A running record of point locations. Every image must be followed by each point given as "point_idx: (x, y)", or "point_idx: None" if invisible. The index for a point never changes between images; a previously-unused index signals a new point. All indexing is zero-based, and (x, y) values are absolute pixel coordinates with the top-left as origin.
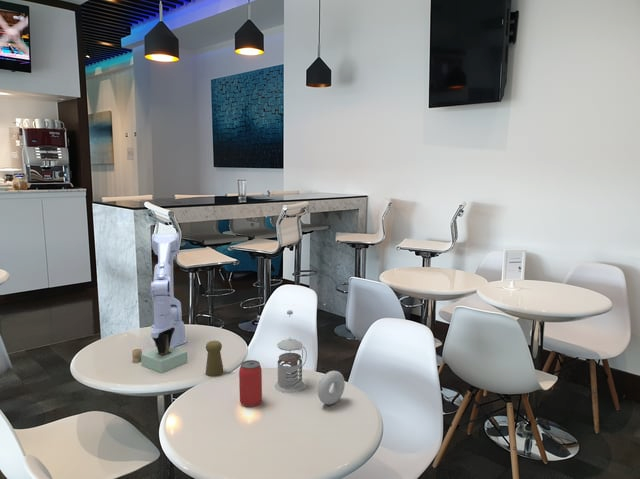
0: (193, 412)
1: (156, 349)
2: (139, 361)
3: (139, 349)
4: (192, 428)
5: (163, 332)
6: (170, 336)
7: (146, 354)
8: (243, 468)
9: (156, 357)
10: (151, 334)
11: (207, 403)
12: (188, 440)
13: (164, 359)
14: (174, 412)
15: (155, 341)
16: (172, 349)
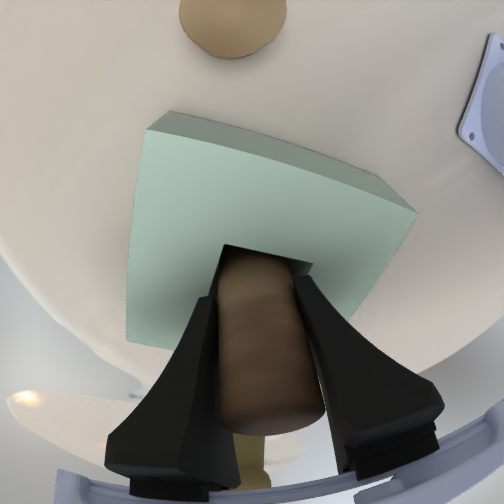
0: (65, 412)
1: (315, 187)
2: (213, 55)
3: (271, 13)
4: (43, 415)
5: (340, 428)
6: (328, 414)
7: (169, 178)
8: (53, 442)
9: (158, 290)
10: (54, 497)
11: (101, 422)
12: (28, 414)
13: (162, 340)
14: (39, 394)
15: (152, 399)
16: (335, 296)
